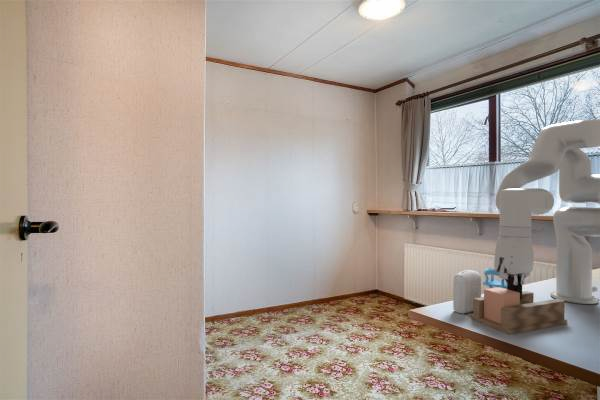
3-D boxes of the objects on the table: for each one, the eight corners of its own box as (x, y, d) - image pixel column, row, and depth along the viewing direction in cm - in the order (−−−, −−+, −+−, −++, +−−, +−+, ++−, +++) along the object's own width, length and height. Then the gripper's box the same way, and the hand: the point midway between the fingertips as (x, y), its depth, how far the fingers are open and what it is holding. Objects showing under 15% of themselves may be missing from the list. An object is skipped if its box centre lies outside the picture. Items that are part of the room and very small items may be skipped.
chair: (514, 304, 109) (515, 267, 109) (506, 310, 103) (506, 271, 103) (489, 299, 115) (489, 264, 115) (479, 303, 109) (479, 267, 109)
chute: (524, 309, 104) (524, 290, 104) (567, 323, 92) (567, 301, 92) (471, 318, 96) (471, 297, 96) (510, 334, 85) (510, 310, 85)
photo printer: (469, 305, 108) (469, 267, 108) (483, 309, 104) (483, 269, 104) (451, 311, 102) (451, 270, 102) (464, 315, 99) (464, 273, 99)
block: (499, 315, 96) (499, 287, 96) (519, 322, 90) (519, 292, 90) (483, 317, 94) (484, 289, 93) (503, 325, 88) (503, 295, 88)
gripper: (520, 230, 100) (520, 292, 100) (483, 232, 94) (483, 297, 94) (546, 233, 93) (546, 299, 93) (508, 235, 87) (508, 305, 87)
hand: (514, 298), depth 94 cm, fingers closed
